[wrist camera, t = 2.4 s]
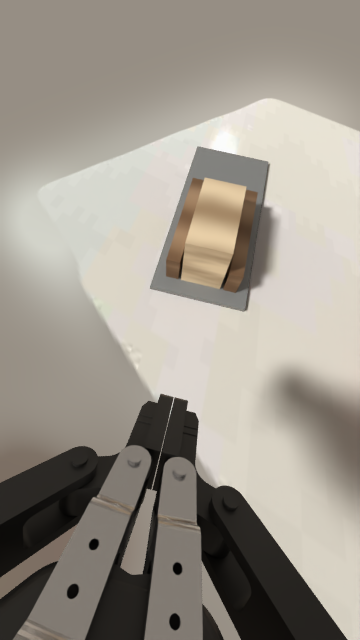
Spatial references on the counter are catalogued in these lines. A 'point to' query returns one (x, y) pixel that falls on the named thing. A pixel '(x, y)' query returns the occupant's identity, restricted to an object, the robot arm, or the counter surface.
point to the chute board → (254, 179)
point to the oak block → (213, 233)
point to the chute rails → (241, 245)
